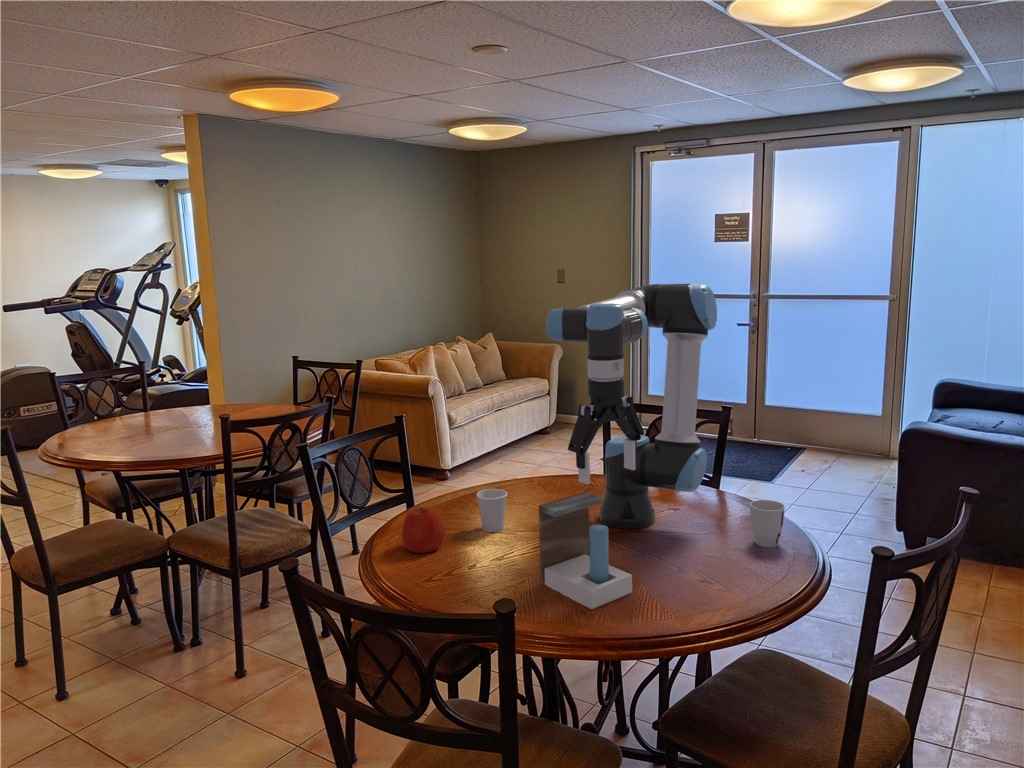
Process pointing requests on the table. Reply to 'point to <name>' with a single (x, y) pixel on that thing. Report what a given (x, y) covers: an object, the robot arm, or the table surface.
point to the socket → (587, 582)
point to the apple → (423, 530)
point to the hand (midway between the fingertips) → (607, 475)
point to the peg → (599, 554)
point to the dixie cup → (492, 509)
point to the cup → (767, 522)
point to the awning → (564, 529)
